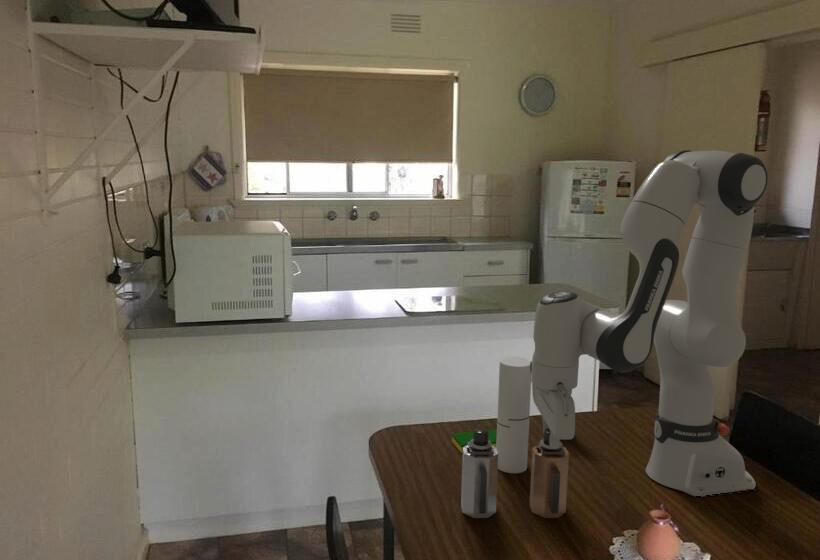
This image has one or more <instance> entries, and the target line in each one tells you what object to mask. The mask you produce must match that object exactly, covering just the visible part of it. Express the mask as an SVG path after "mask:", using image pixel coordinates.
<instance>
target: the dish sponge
mask: <svg viewBox="0 0 820 560" xmlns="http://www.w3.org/2000/svg"><path fill="white" fill-rule="evenodd" d="M486 430H487V431H488V432H489V437H488V440H489V441H491V442H492V446H493V447H496V442H497V428H495V429H486ZM472 439H473V431H468V432H467V431H466V432H458V433H452V434H451V442H452V444H453V445H454V446H455V447H456V448H457V450H458V451H459V453H461V454H463V447H465V446H467V445H468V442H470V440H472Z"/></svg>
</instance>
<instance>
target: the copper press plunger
mask: <svg viewBox="0 0 820 560" xmlns="http://www.w3.org/2000/svg"><path fill="white" fill-rule="evenodd" d="M543 430H544V429H543ZM549 437H550V429H546V430H544V435H543V438H542V439H540V440H539V442H540V446H541V447H542V448H545V449H548V450H558V449H561V448H562V447H563V442H562V441H561V440H560V441H559V447H558V448H551V447H550V446H549V443H548V442H549Z"/></svg>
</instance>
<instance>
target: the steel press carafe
mask: <svg viewBox="0 0 820 560" xmlns="http://www.w3.org/2000/svg"><path fill="white" fill-rule="evenodd" d="M461 456H462V464H461V493H460V496H461V497H460V500H461V501H460V506H461V512H462V514H465V515H466V516H469V517H471V518H473V519H488V518H490V517H492V516H493V515H494V514H496V513H497V493H498V474H499V473H498V472H499V471H498V470H499V469H498V451H497V449H496V447H493V446H492V447H491V448H490V449H487V450H477V449H473V448H471V447H470V445H469V442H468V445H467V446H465V447H463V453H462V455H461Z"/></svg>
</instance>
